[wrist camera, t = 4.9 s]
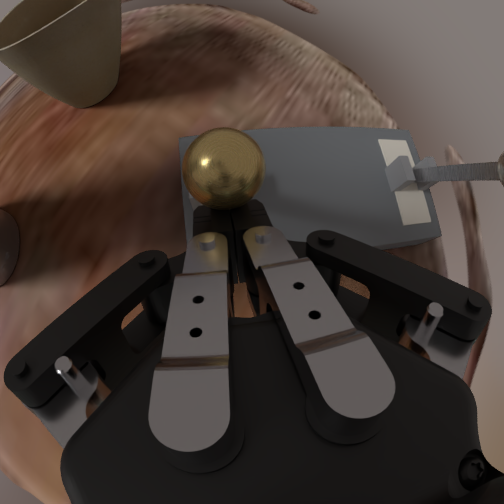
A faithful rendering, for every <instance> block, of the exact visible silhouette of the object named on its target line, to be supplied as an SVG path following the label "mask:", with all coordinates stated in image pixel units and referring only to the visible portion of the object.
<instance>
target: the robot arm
mask: <svg viewBox="0 0 504 504" xmlns="http://www.w3.org/2000/svg"><path fill="white" fill-rule="evenodd" d="M19 243H20V239H19V231H18V226H17V224H16V221H15V219H14V218H13V217H12V216H11V215H10V214H9V213H7V212H5V211H3V210H1V209H0V286H1V285H2V284H4V283H5V282H6V281H7V280H8V278H9V277H10V275H11V274H12V272H13V270H14V267H15V265H16V262H17V258H18V253H19ZM236 266H237V267H236ZM237 271H238V276H239V281H240V283H243V282H246V285H247V296H248V300H249V303H250V306H251V309H252V312H253V315H254V317H252V318H240V317H235V311H234V296H233V293H234V284H236V283H238V277H237ZM341 274H343V275H345V276H347V277H349V278H351V279H354V280H356V281H358V282H360V283H362V284H364V285H365V286H366V287H367V288H368V289H369V291H370V298H369V299H367V298H365V297H363V296H361V295H359V294H357V293H355V292H353V291H351V290H348V289H346V288H344V287H342V286H340V285H339V284H340V279H341ZM140 302H141V304H142V306H143V309H144V310H143V311H142V312H141V313H140V314H139V315H138V316H137V317H136V318H134V319H133V320H132V321H131V322H130V323H129V324H128V325H127V326H126V327H125V328H124V329H123V330H122V329H121V324H122V321H123V319H124V317H125V316H126V315H127V314H128V313H129V312H130V311H131V310H133V309H134V308H135V307H136V306H137V305H138V304H139V303H140ZM491 314H492V309H491V306H490V304H489V302H488V301H487V299H486V298H485V297H483V296H482V295H481V294H479V293H478V292H476V291H473V290H471V289H469V288H467V287H465V286H463V285H460V284H458V283H456V282H454V281H452V280H450V279H447V278H445V277H443V276H441V275H438V274H436V273H434V272H432V271H429V270H427V269H425V268H423V267H420V266H418V265H416V264H413V263H411V262H409V261H406V260H404V259H402V258H399V257H397V256H394V255H392V254H390V253H387V252H385V251H382V250H380V249H377V248H375V247H373V246H370V245H368V244H365V243H363V242H360V241H358V240H355V239H353V238H350V237H347V236H345V235H342V234H340V233H337V232H334V231H330V230H317V231H313V232H311V233H310V234H309V235H308V236H307V238H306V242H299V241H291V240H287V239H286V238H285V237H284V235H283V233H282V232H281V231H280V230H279V229H277V228H274V227H273V225H272V223H271V221H270V218H269V216H268V215H267V212H266V210H265V207H264V205H263V203H261V202H260V201H258V200H257V199H252V200H250V201H249V202H247V203H246V204H244V205H242V206H240V207H237V208H234V209H229V210H217V209H212V208H209V207H207V206H205V205H200V206H198V207H197V208H196V209H195V210H194V211H193V237H192V238H191V239H190V240H189V242H188V244H187V250H186V252H184V253H183V254H181V255H178V256H176V257H173V258H170V259H168V258H167V255H166V254H165V253H164V252H162V251H158V250H149V251H145V252H142V253H139V254H138V255H136V256H134V257H133V258H132V259H130V260H129V261H128V262H126V263H125V264H124V265H122V266H121V267H120V268H119V269H117V270H116V271H115V272H113V273H112V274H111V275H110V276H108V277H107V278H106V279H104V280H103V281H102V282H101V283H99V284H98V285H97V286H96V287H94V288H93V289H92V290H91V291H89V292H88V293H87V294H86V295H84V296H83V297H82V298H81V299H79V300H78V301H77V302H76V303H75V304H73V305H72V306H71V307H70V308H69V309H67V310H66V311H65V312H64V313H63V314H61V315H60V316H59V317H58V318H57V319H55V320H54V321H53V322H52V323H51V324H50V325H49V326H47V327H46V328H45V329H44V330H43V331H42V332H40V333H39V334H38V335H37V336H36V337H35V338H34V339H33V340H31V341H30V342H29V343H28V344H27V345H26V346H25V347H24V348H23V349H22V350H20V351H19V352H18V353H17V354H16V355H15V356H14V357H13V358H12V359H11V360H10V361H9V363H8V364H7V366H6V368H5V372H4V382H5V384H6V386H7V387H8V388H9V389H10V390H11V391H12V392H13V393H14V394H15V395H16V396H17V397H18V398H19V399H20V400H21V402H22V403H23V404H24V405H25V406H26V407H27V408H28V409H29V410H30V411H31V412H32V413H33V414H35V415H36V416H37V417H38V418H39V419H40V420H41V422H42V423H43V424H44V425H45V427H46V428H47V429H48V431H49V432H50V433H51V434H52V436H53V437H54V438H55V439H56V440H57V442H58V443H59V444H60V445H61V446H62V448H63V449H64V450H63V453H62V457H61V465H60V470H61V478H62V482H63V485H64V487H65V490H66V492H67V494H68V496H69V499H70V501H71V503H72V504H504V473H502V472H500V471H498V470H497V469H495V468H494V467H493V466H491V465H490V464H489V462H488V461H487V460H486V459H485V457H484V455H483V453H482V450H481V446H480V441H479V435H478V426H477V406H476V402H475V398H474V396H473V393H472V392H471V390H470V388H469V387H468V385H467V384H466V383H465V382H464V381H463V380H462V379H463V376H464V373H465V369H466V366H467V363H468V359H469V356H470V352H471V348H472V346H473V344H474V343H475V341H476V340H477V338H478V336H479V335H480V333H481V332H482V330H483V328H484V327H485V325H486V324H487V322H488V320H489V318H490V317H491Z"/></svg>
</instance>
